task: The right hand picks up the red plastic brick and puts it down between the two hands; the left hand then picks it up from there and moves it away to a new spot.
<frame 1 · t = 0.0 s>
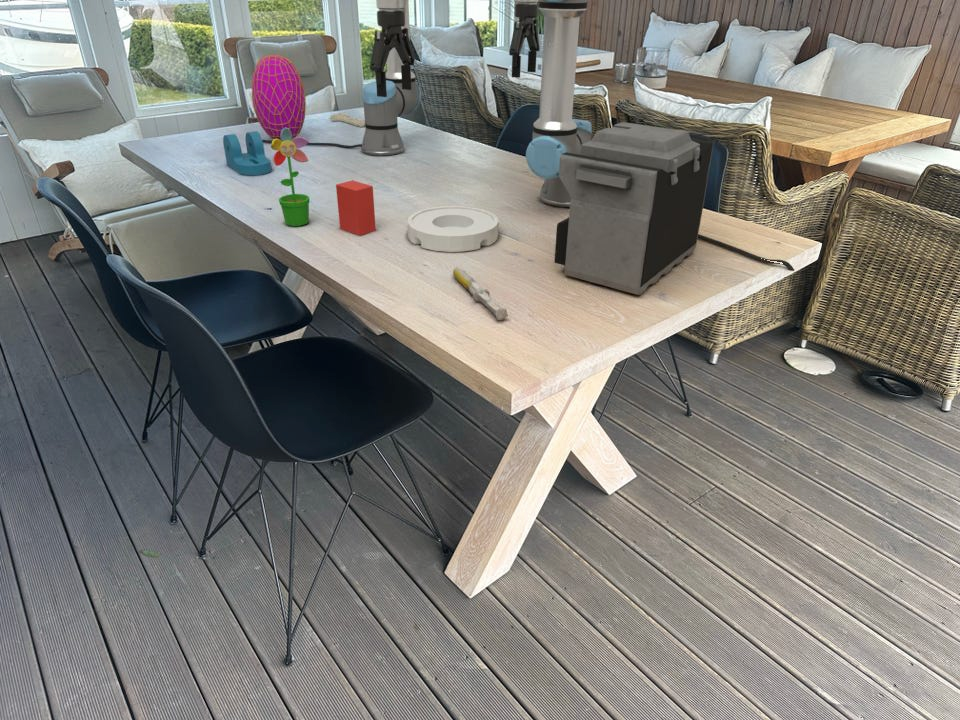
left hand: (523, 74, 230), 28 cm above the table, tool pointing down, fingers open, 13 cm apart
right hand: (394, 93, 197), 28 cm above the table, tool pointing down, fingers open, 13 cm apart
potted flower: (298, 223, 184), on the table
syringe: (478, 297, 145), on the table
brick: (357, 229, 180), on the table
camera mount: (251, 168, 229), on the table
grey cooler box: (626, 263, 162), on the table
decorative egg: (284, 140, 265), on the table
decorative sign: (348, 121, 295), on the table
ashtray: (453, 235, 177), on the table
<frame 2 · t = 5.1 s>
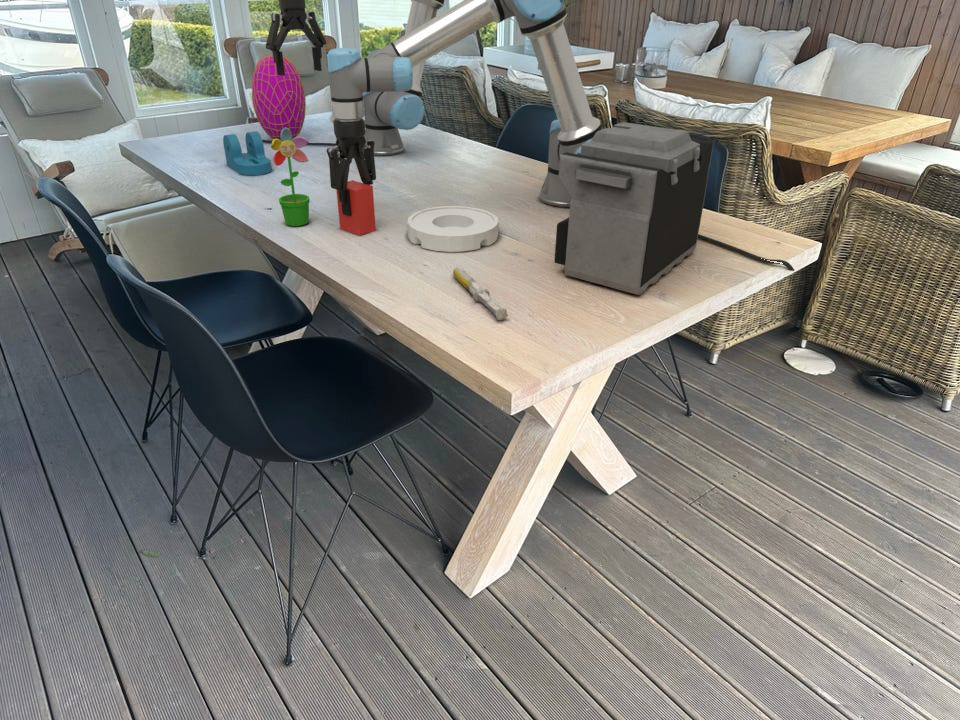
left hand: (300, 72, 209), 31 cm above the table, tool pointing down, fingers open, 13 cm apart
right hand: (356, 211, 177), 5 cm above the table, tool pointing down, fingers closed on brick, 6 cm apart
brick: (357, 229, 180), on the table, touching right hand
everything else where it was.
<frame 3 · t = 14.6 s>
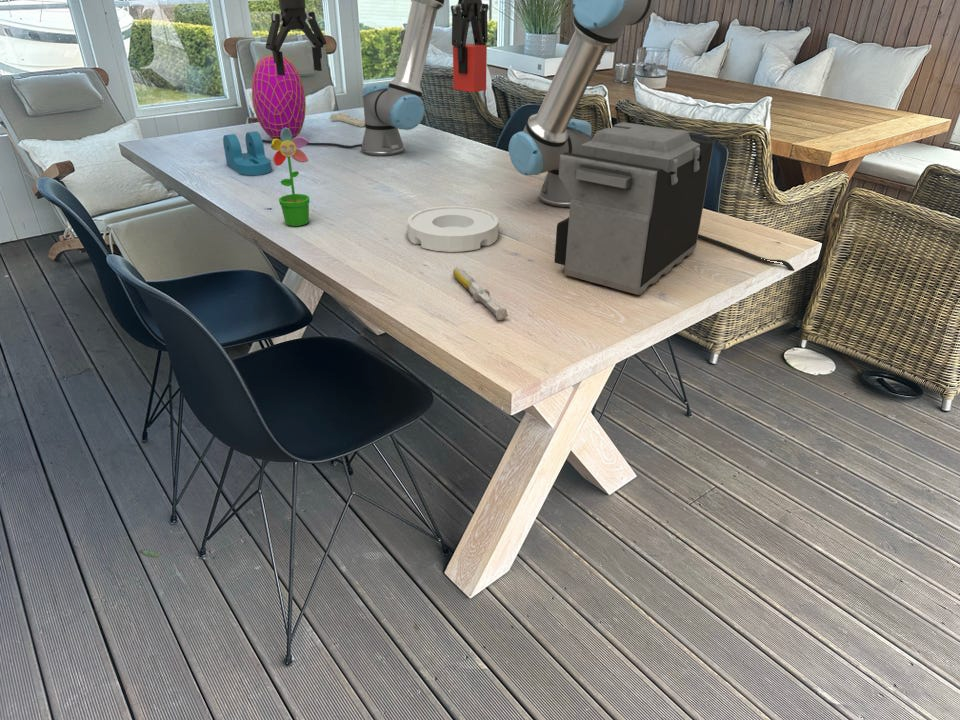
left hand: (300, 72, 209), 31 cm above the table, tool pointing down, fingers open, 13 cm apart
right hand: (470, 71, 195), 34 cm above the table, tool pointing down, fingers closed on brick, 6 cm apart
brick: (469, 89, 198), point 29 cm above the table, touching right hand
everything else where it was.
when the right hand's fingers open (6 cm above the table, at t = 24.1 s): brick drops 2 cm, on the table.
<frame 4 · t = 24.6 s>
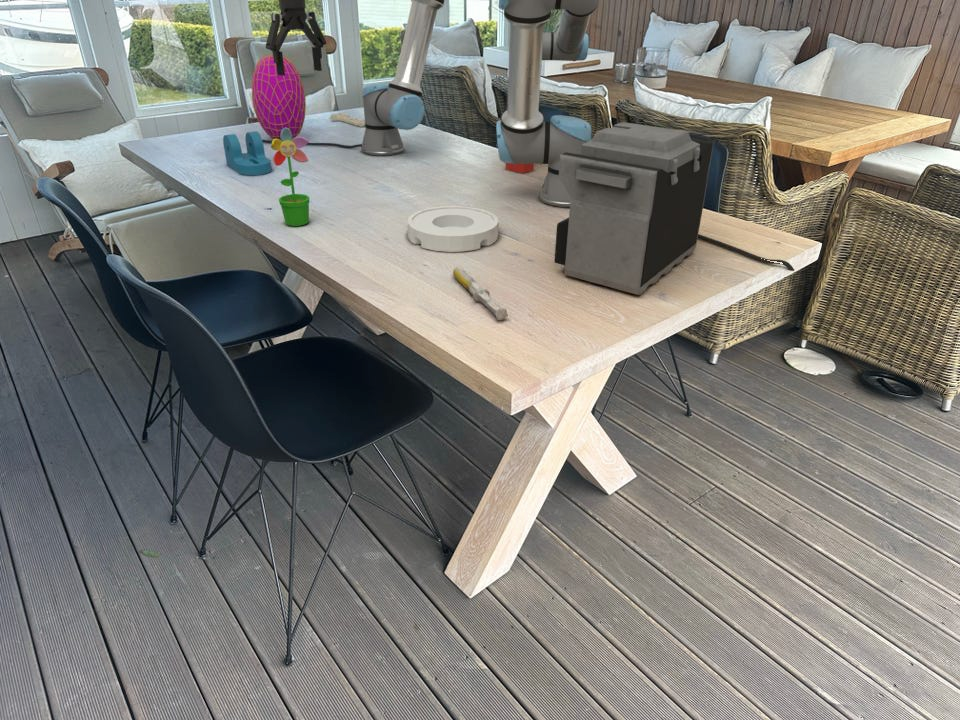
left hand: (300, 72, 209), 31 cm above the table, tool pointing down, fingers open, 13 cm apart
right hand: (520, 145, 228), 8 cm above the table, tool pointing down, fingers open, 13 cm apart
brick: (519, 169, 232), on the table
everything else where it was.
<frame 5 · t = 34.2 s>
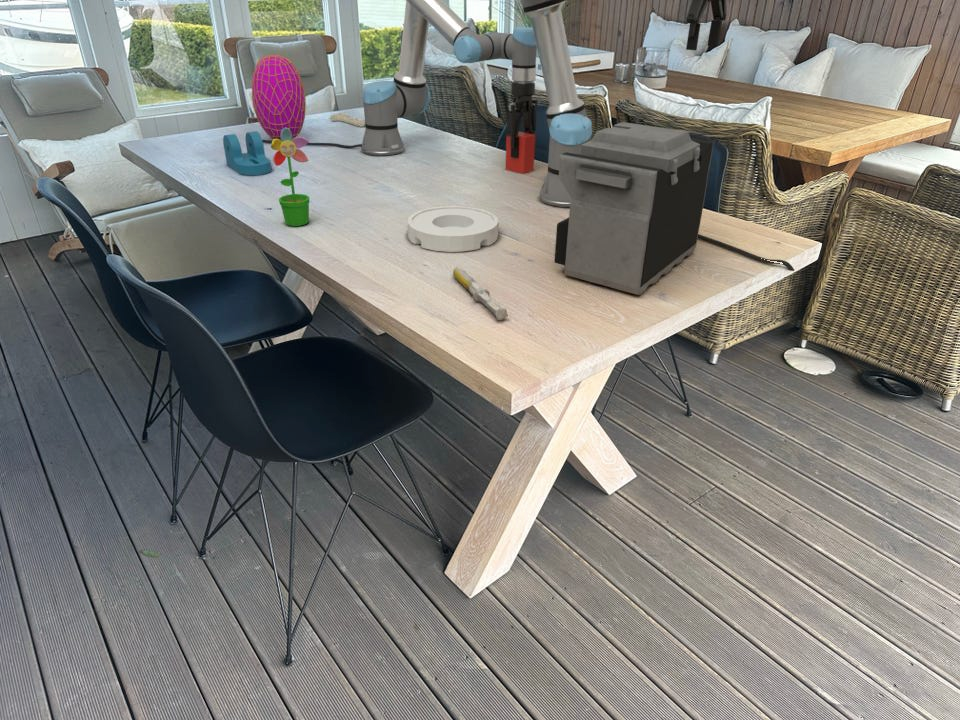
left hand: (520, 155, 229), 5 cm above the table, tool pointing down, fingers closed on brick, 6 cm apart
right hand: (702, 48, 191), 41 cm above the table, tool pointing down, fingers open, 13 cm apart
brick: (519, 169, 232), on the table, touching left hand
everything else where it was.
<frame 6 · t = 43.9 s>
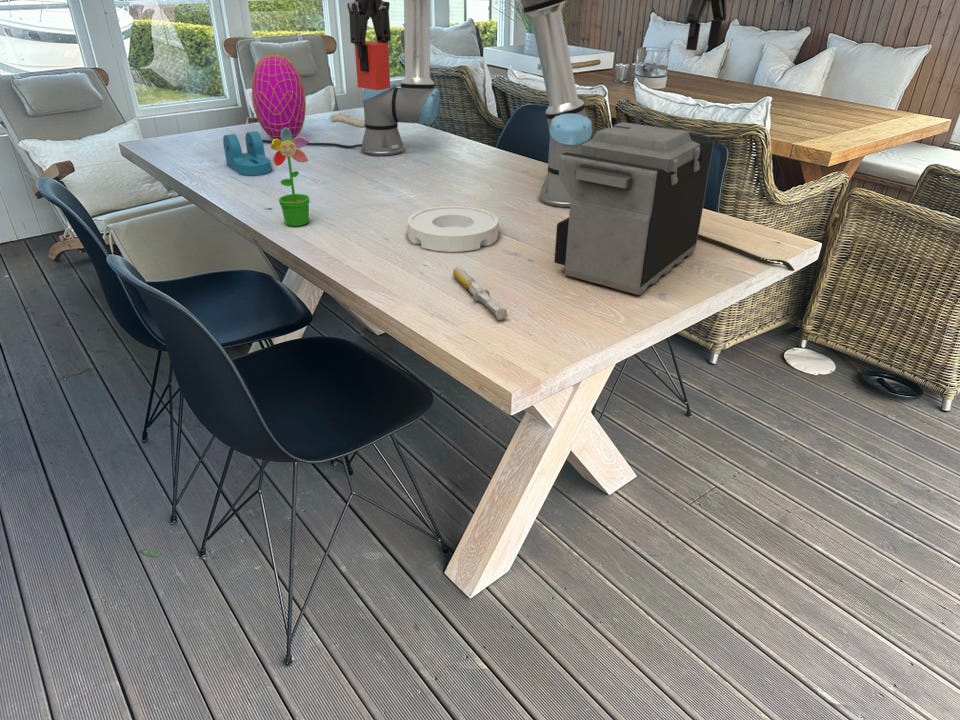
left hand: (372, 69, 195), 34 cm above the table, tool pointing down, fingers closed on brick, 6 cm apart
right hand: (702, 48, 191), 41 cm above the table, tool pointing down, fingers open, 13 cm apart
brick: (374, 87, 198), point 29 cm above the table, touching left hand
everything else where it was.
when the left hand's fingers open (6 cm above the table, at t = 53.5 s): brick drops 2 cm, on the table.
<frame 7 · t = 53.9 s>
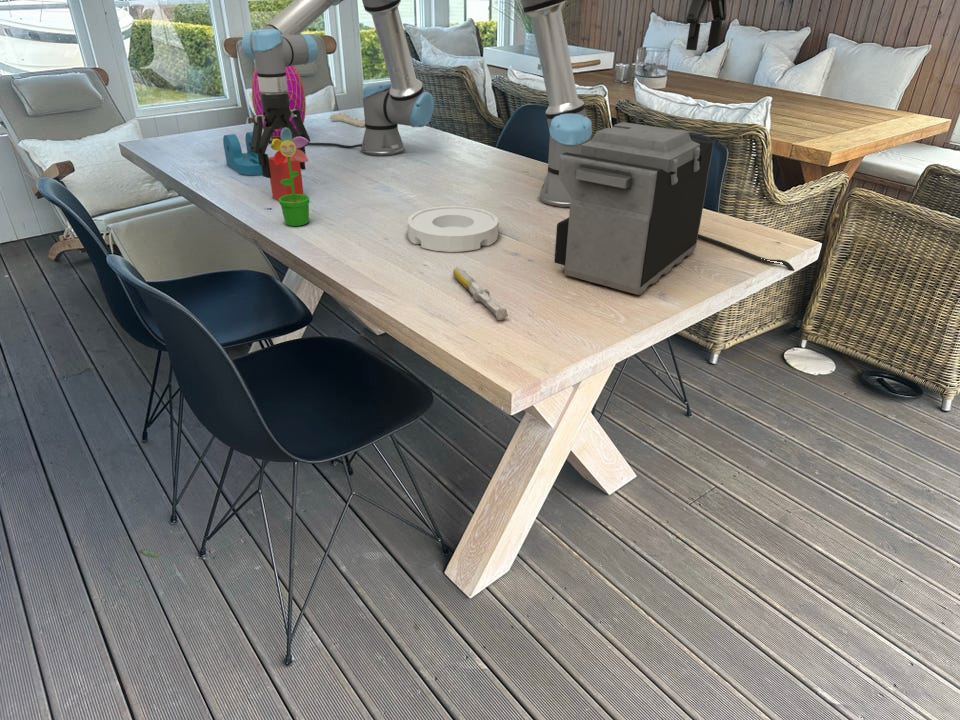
left hand: (284, 172, 198), 8 cm above the table, tool pointing down, fingers open, 11 cm apart
right hand: (702, 48, 191), 41 cm above the table, tool pointing down, fingers open, 13 cm apart
brick: (288, 198, 202), on the table
everything else where it was.
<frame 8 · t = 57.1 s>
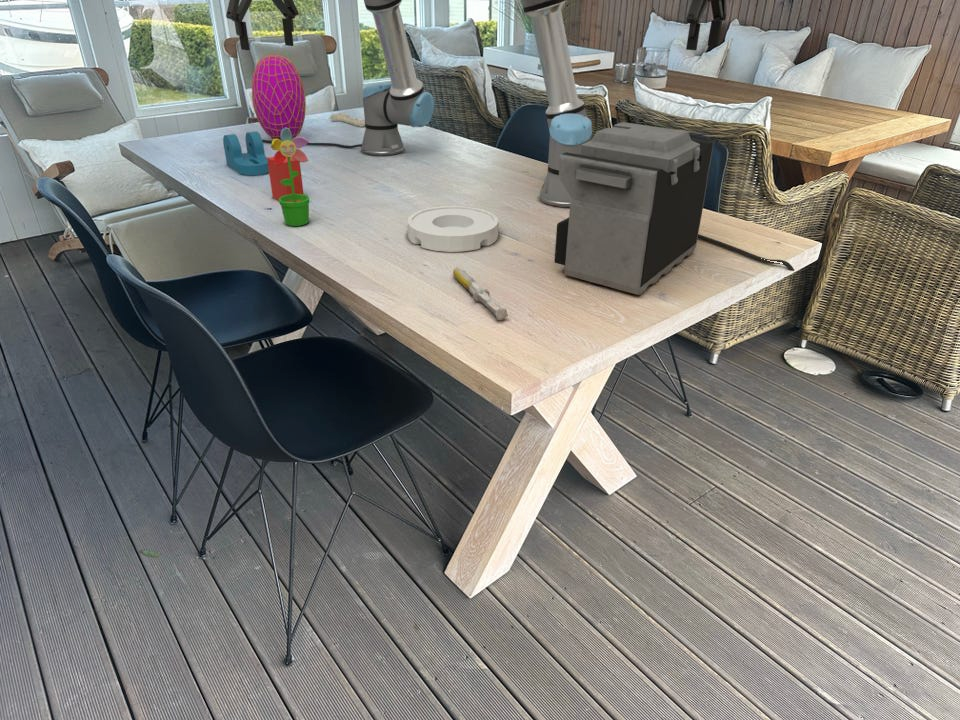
left hand: (268, 47, 181), 41 cm above the table, tool pointing down, fingers open, 13 cm apart
right hand: (702, 48, 191), 41 cm above the table, tool pointing down, fingers open, 13 cm apart
nothing on the table moved.
at the end: brick inside the target area (0.1 cm from its centre), on the table; brick tilted 0°; the two hands never held the brick at the same time; the left hand is holding nothing; the right hand is holding nothing; brick at rest at the end (0.0 cm/s) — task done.
